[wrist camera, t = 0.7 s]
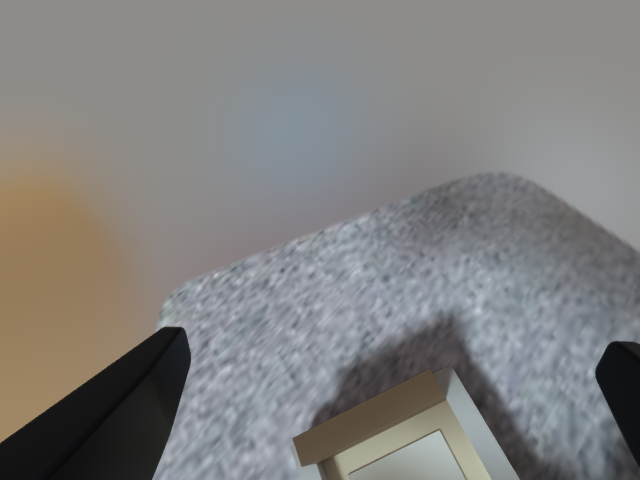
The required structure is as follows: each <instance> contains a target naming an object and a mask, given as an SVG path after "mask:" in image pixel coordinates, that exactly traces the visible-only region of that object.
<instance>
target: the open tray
mask: <svg viewBox="0 0 640 480" xmlns="http://www.w3.org/2000/svg"><path fill="white" fill-rule="evenodd" d="M293 442H294V445H292V446H290V447H291V450H292V454H293V457H294V460H295V463H296V467H297V470H298V473H299V476H300V480H520V479H519V477H518V476H517V474H516V472H515V471H514V469H513V467H512V466H511V464H510V462H509V461H508V459H507V457H506V456H505V454H504V452H503V451H502V449H501V447H500V446H499V444H498V442H497V441H496V439H495V437H494V436H493V434H492V432H491V431H490V429H489V427H488V426H487V424H486V423H485V421H484V419H483V418H482V416H481V414H480V413H479V411H478V409H477V408H476V406H475V404H474V403H473V401H472V399H471V398H470V396H469V394H468V393H467V391H466V389H465V388H464V386H463V384H462V383H461V381H460V379H459V378H458V376H457V374H456V373H455V371H454V369H453V368H452V366H451V365H449V366H447V367H445V368H443V369H441V370H440V371H438V372H436V373H434V374H433V373H432V371H431V369H428V370H426V371H424V372H422V373H420V374H418V375H416V376H414V377H412V378H410V379H408V380H406V381H404V382H402V383H400V384H398V385H396V386H394V387H392V388H390V389H388V390H386V391H384V392H382V393H380V394H378V395H376V396H375V397H373V398H371V399H369V400H367V401H365V402H363V403H361V404H359V405H357V406H355V407H353V408H351V409H349V410H347V411H345V412H343V413H341V414H339V415H337V416H335V417H333V418H331V419H329V420H327V421H325V422H323V423H321V424H319V425H318V426H316V427H314V428H312V429H310V430H308V431H306V432H304V433H302V434H300V435H298V436H296V437H294V438H293Z"/></svg>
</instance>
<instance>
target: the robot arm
mask: <svg viewBox="0 0 640 480" xmlns="http://www.w3.org/2000/svg"><path fill="white" fill-rule="evenodd" d="M190 364H191V352H190V348H189V344H188V339H187V335H186V331H185V330H184V328H182V327H163V328H162V329H160V330H159V331H157V332H156V333H154V334H153V335H152V336H150V337H149V338H147V339H146V340H145V341H143V342H142V343H140V344H139V345H138V346H136V347H135V348H133V349H132V350H130V351H129V352H128V353H126V354H125V355H123V356H122V357H121V358H120V359H118V360H116V361H115V362H114V363H112V364H111V365H110V366H108V367H107V368H106V369H104V370H102V371H101V372H100V373H98V374H97V375H95V376H94V377H93V378H91V379H90V380H88V381H87V382H86V383H84V384H83V385H81V386H80V387H78V388H77V389H76V390H74V391H73V392H71V393H70V394H69V395H67V396H66V397H64V398H63V399H62V400H60V401H59V402H57V403H56V404H55V405H53V406H52V407H50V408H49V409H47V410H46V411H45V412H43V413H42V414H41V415H39V416H38V417H36V418H35V419H33V420H32V421H31V422H29V423H28V424H26V425H25V426H24V427H22V428H21V429H19V430H18V431H17V432H15V433H14V434H12V435H11V436H9V437H8V438H7V439H5V440H4V441H2V442H1V443H0V480H152V478H153V476H154V474H155V471H156V469H157V466H158V464H159V461H160V459H161V456H162V454H163V451H164V449H165V446H166V444H167V441H168V438H169V436H170V433H171V430H172V426H173V423H174V420H175V416H176V413H177V409H178V406H179V402H180V399H181V395H182V392H183V389H184V385H185V382H186V378H187V375H188V371H189V368H190ZM595 374H596V379H597V382H598V384H599V386H600V388H601V391H602V393H603V395H604V397H605V399H606V401H607V403H608V406H609V408H610V410H611V412H612V414H613V416H614V418H615V420H616V423H617V425H618V427H619V429H620V431H621V433H622V435H623V438H624V440H625V442H626V444H627V446H628V448H629V450H630V452H631V454H632V456H633V458H634V459H635V461H636V463H637V465H638V467H639V468H640V344H638V343H635V342H626V341H614V342H611V343H610V344H609V345H608V346H607V348H606V350H605V352H604V354H603V355H602V357H601V359H600V361H599V363H598V365H597V367H596V371H595Z"/></svg>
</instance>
